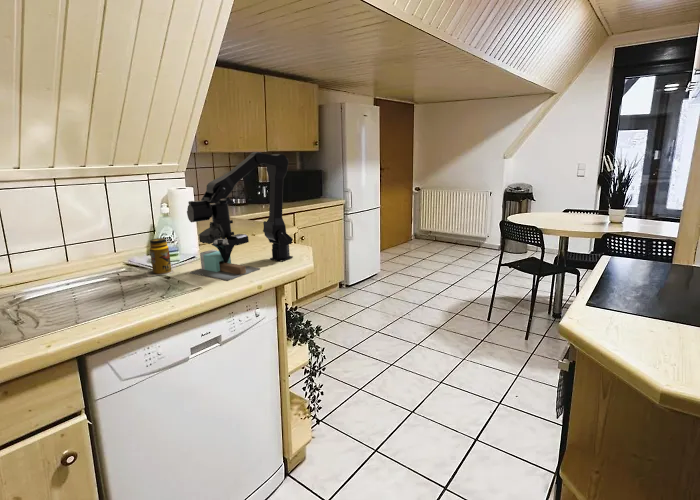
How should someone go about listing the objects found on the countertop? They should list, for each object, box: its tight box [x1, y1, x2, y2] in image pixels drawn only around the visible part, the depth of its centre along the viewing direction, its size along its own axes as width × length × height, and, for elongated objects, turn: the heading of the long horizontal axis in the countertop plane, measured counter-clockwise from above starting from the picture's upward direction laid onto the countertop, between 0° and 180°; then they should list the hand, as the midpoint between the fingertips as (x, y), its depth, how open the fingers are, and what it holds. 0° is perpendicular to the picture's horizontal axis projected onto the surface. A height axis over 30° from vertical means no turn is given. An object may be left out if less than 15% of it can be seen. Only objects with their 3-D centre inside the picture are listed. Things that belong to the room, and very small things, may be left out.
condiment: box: [144, 237, 175, 278], centre depth 141 cm, size 7×8×12 cm
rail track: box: [189, 249, 261, 282], centre depth 142 cm, size 15×19×6 cm
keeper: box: [203, 250, 232, 272], centre depth 143 cm, size 7×6×5 cm
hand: (226, 262), depth 141 cm, fingers closed
